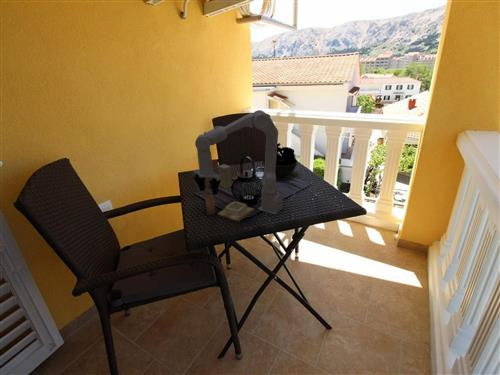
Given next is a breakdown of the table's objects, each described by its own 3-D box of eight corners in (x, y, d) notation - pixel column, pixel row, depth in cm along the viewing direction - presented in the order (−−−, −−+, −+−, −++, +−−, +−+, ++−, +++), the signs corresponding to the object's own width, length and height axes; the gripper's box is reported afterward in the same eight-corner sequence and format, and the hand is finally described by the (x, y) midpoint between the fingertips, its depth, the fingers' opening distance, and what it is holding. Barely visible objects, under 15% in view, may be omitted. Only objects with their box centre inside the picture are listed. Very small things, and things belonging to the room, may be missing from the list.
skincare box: (219, 186, 150) (217, 165, 145) (225, 183, 153) (223, 163, 148) (226, 189, 146) (224, 168, 141) (232, 186, 148) (230, 166, 143)
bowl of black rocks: (290, 184, 147) (291, 152, 139) (258, 180, 155) (256, 149, 148) (300, 172, 163) (301, 143, 156) (270, 169, 172) (270, 140, 164)
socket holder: (254, 210, 122) (254, 203, 120) (238, 221, 113) (238, 215, 111) (234, 204, 128) (233, 198, 127) (217, 214, 119) (217, 208, 118)
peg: (217, 211, 122) (215, 196, 119) (211, 215, 119) (209, 199, 116) (211, 209, 124) (209, 194, 121) (205, 213, 121) (203, 197, 118)
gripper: (186, 163, 113) (191, 192, 118) (211, 168, 105) (214, 199, 110) (198, 158, 118) (202, 186, 124) (223, 163, 110) (225, 193, 116)
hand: (208, 192), depth 117 cm, fingers open, 7 cm apart
